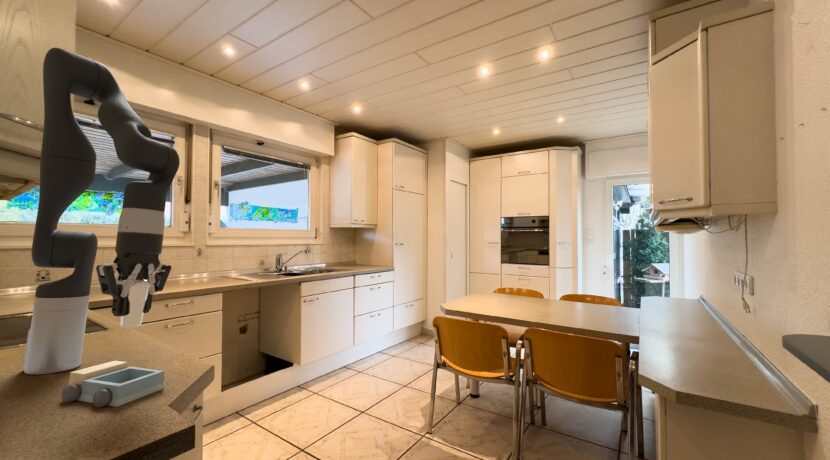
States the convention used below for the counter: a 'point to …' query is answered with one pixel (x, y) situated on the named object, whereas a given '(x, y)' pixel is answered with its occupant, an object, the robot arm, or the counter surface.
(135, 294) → the milkshake
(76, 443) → the counter surface
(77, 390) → the chassis
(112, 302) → the robot arm
